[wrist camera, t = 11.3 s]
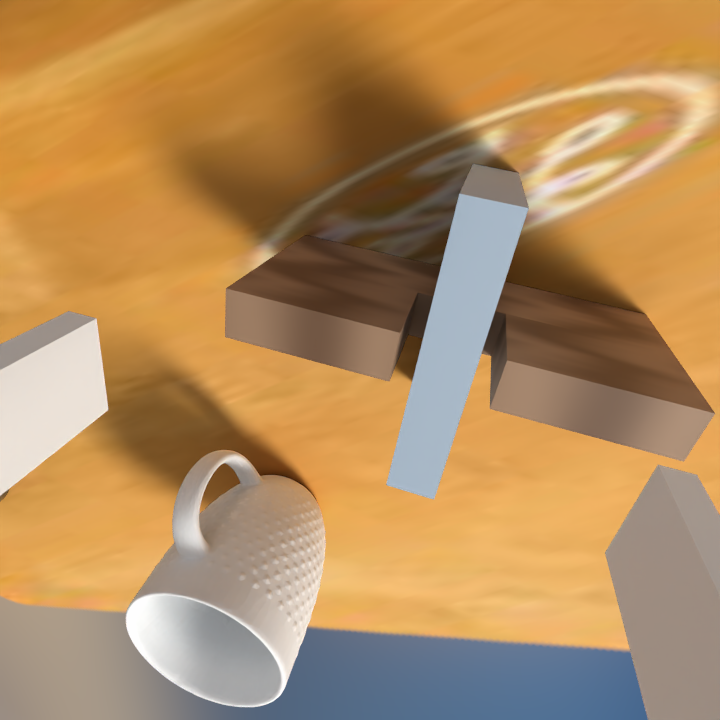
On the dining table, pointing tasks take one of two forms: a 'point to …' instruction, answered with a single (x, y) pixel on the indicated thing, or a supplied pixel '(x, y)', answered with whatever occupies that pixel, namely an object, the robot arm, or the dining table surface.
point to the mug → (232, 586)
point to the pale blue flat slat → (458, 323)
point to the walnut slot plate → (503, 343)
